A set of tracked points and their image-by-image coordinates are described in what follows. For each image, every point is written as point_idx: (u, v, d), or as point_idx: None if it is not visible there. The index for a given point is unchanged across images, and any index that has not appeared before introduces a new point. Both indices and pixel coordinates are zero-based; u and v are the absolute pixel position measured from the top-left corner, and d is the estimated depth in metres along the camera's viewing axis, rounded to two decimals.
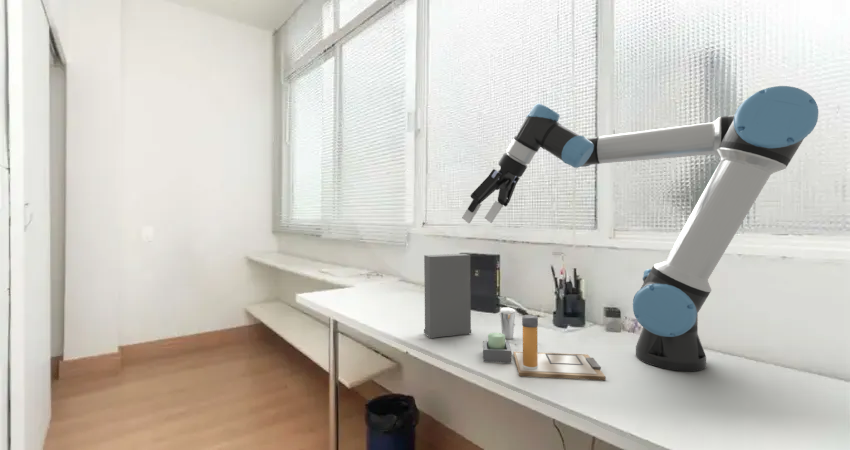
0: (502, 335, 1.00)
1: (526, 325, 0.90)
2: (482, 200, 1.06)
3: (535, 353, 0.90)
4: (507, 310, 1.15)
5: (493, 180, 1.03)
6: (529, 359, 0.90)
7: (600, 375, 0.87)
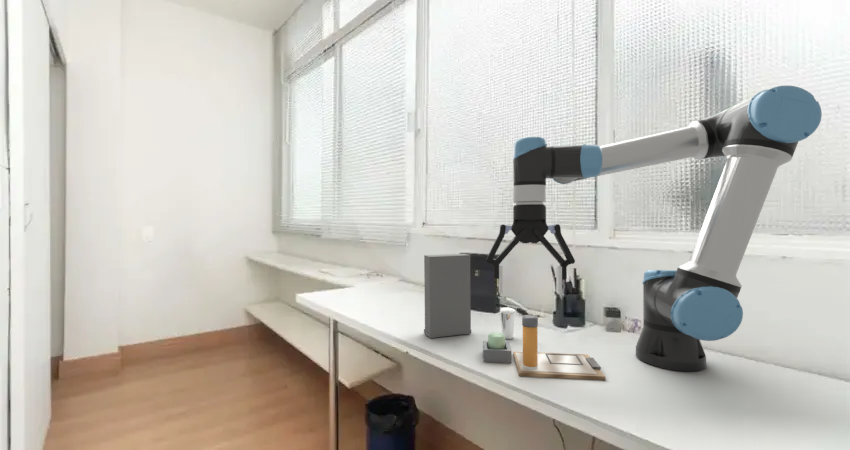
0: (502, 335, 1.00)
1: (526, 325, 0.90)
2: (499, 261, 0.91)
3: (535, 353, 0.90)
4: (507, 310, 1.15)
5: (499, 234, 0.91)
6: (529, 359, 0.90)
7: (600, 375, 0.87)
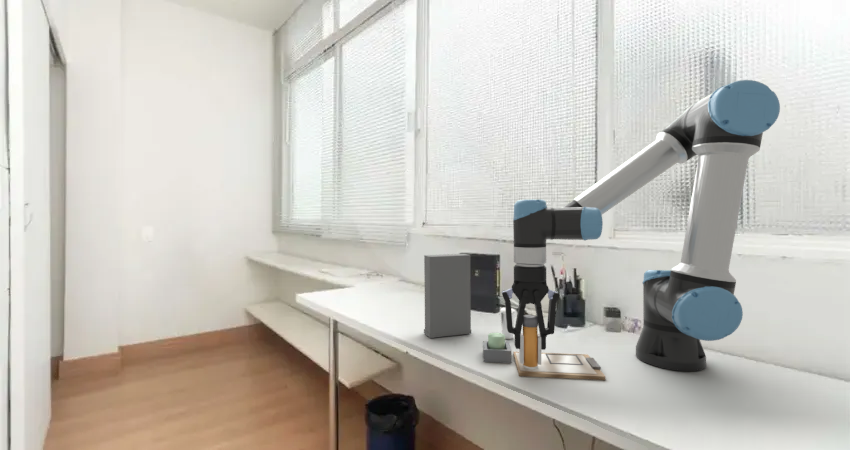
0: (502, 335, 1.00)
1: (526, 325, 0.90)
2: (519, 330, 0.91)
3: (535, 353, 0.90)
4: None
5: (505, 302, 0.91)
6: (529, 358, 0.90)
7: (600, 375, 0.87)
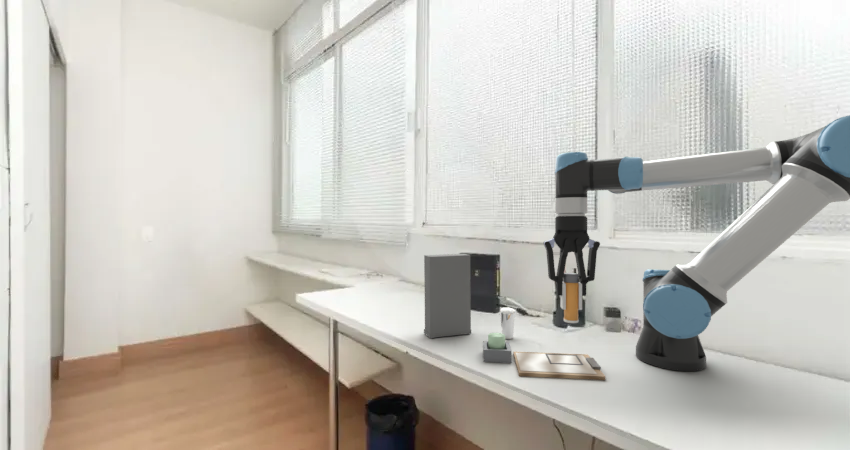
0: (502, 335, 1.00)
1: (568, 281, 0.95)
2: (561, 277, 0.95)
3: (576, 308, 0.95)
4: (507, 310, 1.15)
5: (548, 251, 0.96)
6: (571, 313, 0.95)
7: (600, 375, 0.87)
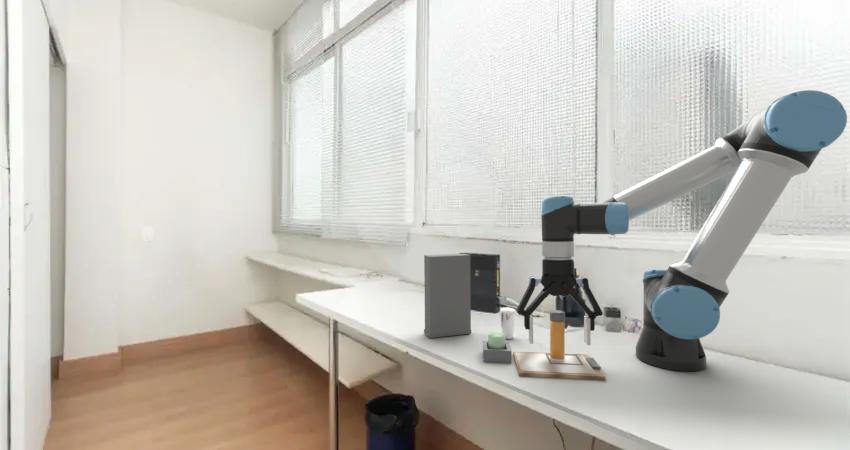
0: (502, 335, 1.00)
1: (554, 319, 0.95)
2: (530, 312, 0.96)
3: (562, 346, 0.95)
4: (507, 310, 1.15)
5: (529, 287, 0.96)
6: (557, 351, 0.95)
7: (600, 375, 0.87)
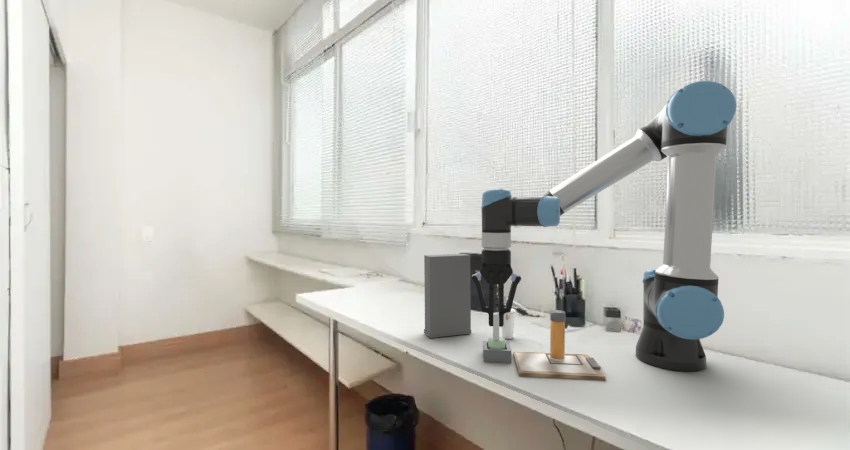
0: (502, 339, 1.00)
1: (554, 319, 0.95)
2: (492, 309, 0.99)
3: (562, 346, 0.95)
4: None
5: (476, 285, 1.00)
6: (557, 351, 0.95)
7: (600, 375, 0.87)
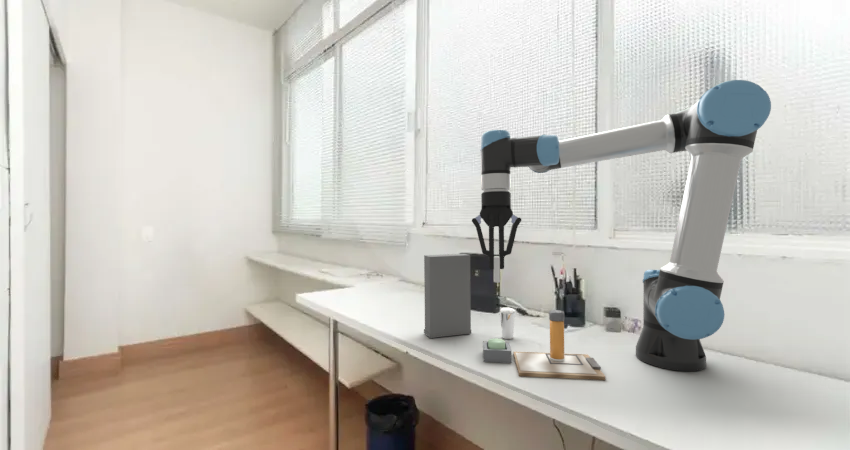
0: (502, 341, 1.00)
1: (553, 319, 0.95)
2: (492, 251, 0.99)
3: (562, 346, 0.95)
4: (507, 310, 1.15)
5: (476, 228, 1.00)
6: (557, 351, 0.95)
7: (600, 375, 0.87)
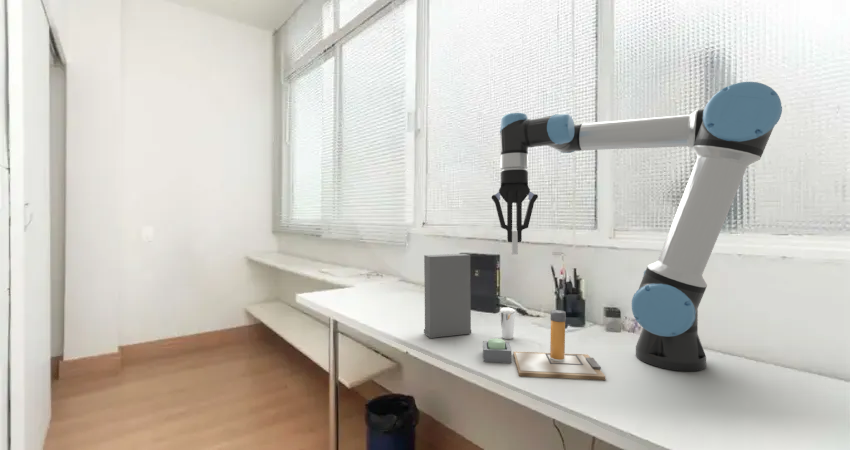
0: (502, 341, 1.00)
1: (554, 319, 0.95)
2: (510, 225, 1.07)
3: (562, 346, 0.95)
4: (507, 310, 1.15)
5: (495, 204, 1.08)
6: (557, 351, 0.95)
7: (600, 375, 0.87)
